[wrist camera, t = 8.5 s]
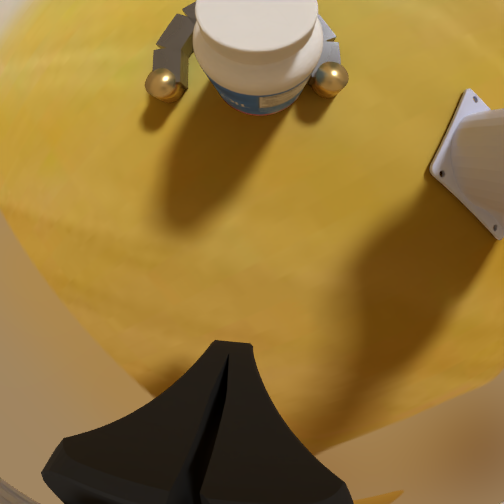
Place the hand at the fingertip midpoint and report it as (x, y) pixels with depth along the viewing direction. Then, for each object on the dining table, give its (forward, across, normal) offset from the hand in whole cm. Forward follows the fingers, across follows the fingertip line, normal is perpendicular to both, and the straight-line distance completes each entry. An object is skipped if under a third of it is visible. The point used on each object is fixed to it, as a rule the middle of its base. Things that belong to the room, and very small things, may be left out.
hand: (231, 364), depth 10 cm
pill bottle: (+10, 0, -12) cm, 16 cm away
